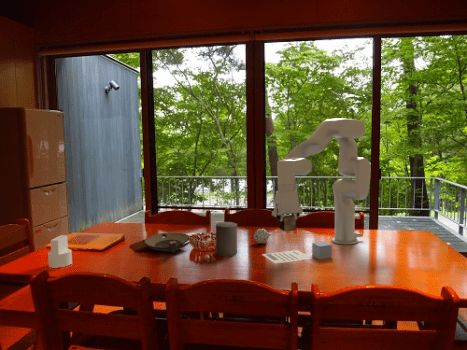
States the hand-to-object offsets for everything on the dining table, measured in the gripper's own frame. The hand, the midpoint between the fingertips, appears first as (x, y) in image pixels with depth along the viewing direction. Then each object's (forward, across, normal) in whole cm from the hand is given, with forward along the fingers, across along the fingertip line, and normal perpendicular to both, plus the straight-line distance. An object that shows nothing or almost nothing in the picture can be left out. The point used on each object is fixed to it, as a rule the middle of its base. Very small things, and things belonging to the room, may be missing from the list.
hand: (287, 228), depth 168 cm
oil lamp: (+12, +49, -31) cm, 59 cm away
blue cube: (+13, -13, +6) cm, 19 cm away
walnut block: (+1, 0, 0) cm, 1 cm away
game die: (+13, +3, -24) cm, 27 cm away
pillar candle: (+12, +24, -15) cm, 31 cm away
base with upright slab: (+10, +95, -25) cm, 99 cm away
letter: (+13, +1, 0) cm, 13 cm away
